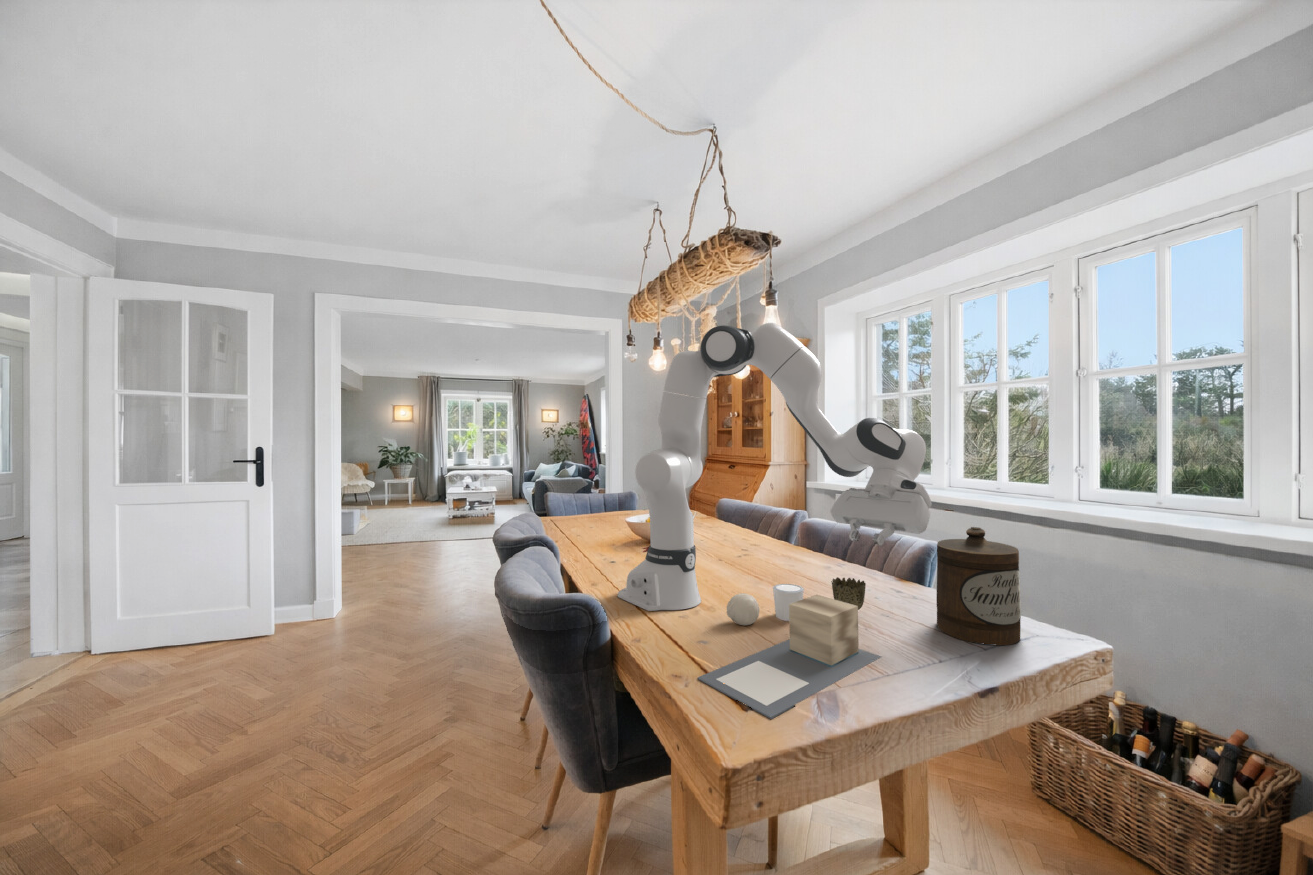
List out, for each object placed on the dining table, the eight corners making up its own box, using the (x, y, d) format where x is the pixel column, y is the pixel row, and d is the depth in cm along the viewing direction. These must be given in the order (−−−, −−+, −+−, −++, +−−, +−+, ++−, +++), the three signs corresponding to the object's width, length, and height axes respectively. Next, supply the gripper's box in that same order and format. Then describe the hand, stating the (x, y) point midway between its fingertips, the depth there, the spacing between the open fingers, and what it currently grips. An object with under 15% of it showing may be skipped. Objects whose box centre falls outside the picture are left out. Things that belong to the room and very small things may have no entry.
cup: (863, 623, 110) (863, 587, 110) (829, 618, 114) (828, 583, 114) (868, 613, 117) (867, 579, 117) (835, 608, 120) (834, 575, 120)
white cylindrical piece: (805, 624, 111) (805, 592, 111) (773, 622, 112) (773, 591, 112) (802, 613, 117) (802, 583, 117) (772, 612, 119) (772, 582, 119)
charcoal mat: (808, 632, 106) (808, 631, 106) (881, 658, 93) (881, 656, 93) (697, 679, 86) (697, 677, 86) (771, 719, 74) (771, 717, 74)
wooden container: (981, 650, 96) (979, 536, 96) (921, 623, 110) (919, 523, 110) (1039, 640, 100) (1037, 531, 100) (974, 615, 114) (972, 519, 114)
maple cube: (817, 638, 102) (816, 594, 102) (858, 653, 95) (857, 605, 95) (789, 650, 96) (789, 604, 96) (831, 667, 89) (830, 616, 89)
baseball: (721, 620, 114) (721, 591, 114) (751, 617, 115) (751, 588, 115) (733, 631, 107) (732, 600, 107) (764, 628, 109) (764, 597, 109)
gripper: (839, 479, 118) (815, 525, 112) (930, 484, 102) (907, 539, 96) (850, 496, 121) (827, 542, 115) (940, 504, 105) (919, 558, 99)
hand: (864, 541), depth 105 cm, fingers open, 4 cm apart
